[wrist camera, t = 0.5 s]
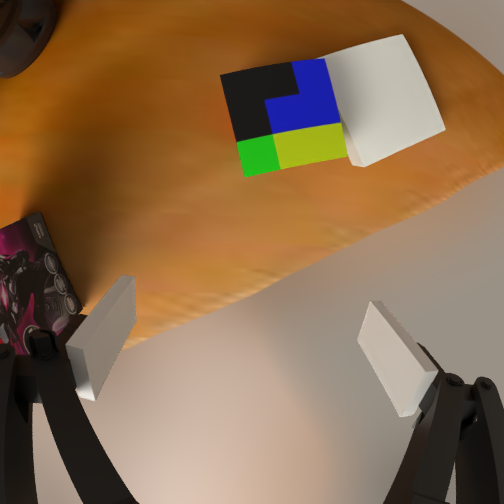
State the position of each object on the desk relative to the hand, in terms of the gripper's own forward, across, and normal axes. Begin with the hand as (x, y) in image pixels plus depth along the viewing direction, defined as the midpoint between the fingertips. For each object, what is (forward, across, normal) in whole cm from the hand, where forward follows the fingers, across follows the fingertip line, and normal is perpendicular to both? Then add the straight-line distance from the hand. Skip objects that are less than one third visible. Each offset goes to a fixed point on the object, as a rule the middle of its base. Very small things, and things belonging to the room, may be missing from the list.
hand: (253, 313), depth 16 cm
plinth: (+24, +15, +19) cm, 34 cm away
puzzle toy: (+24, +2, +12) cm, 27 cm away
